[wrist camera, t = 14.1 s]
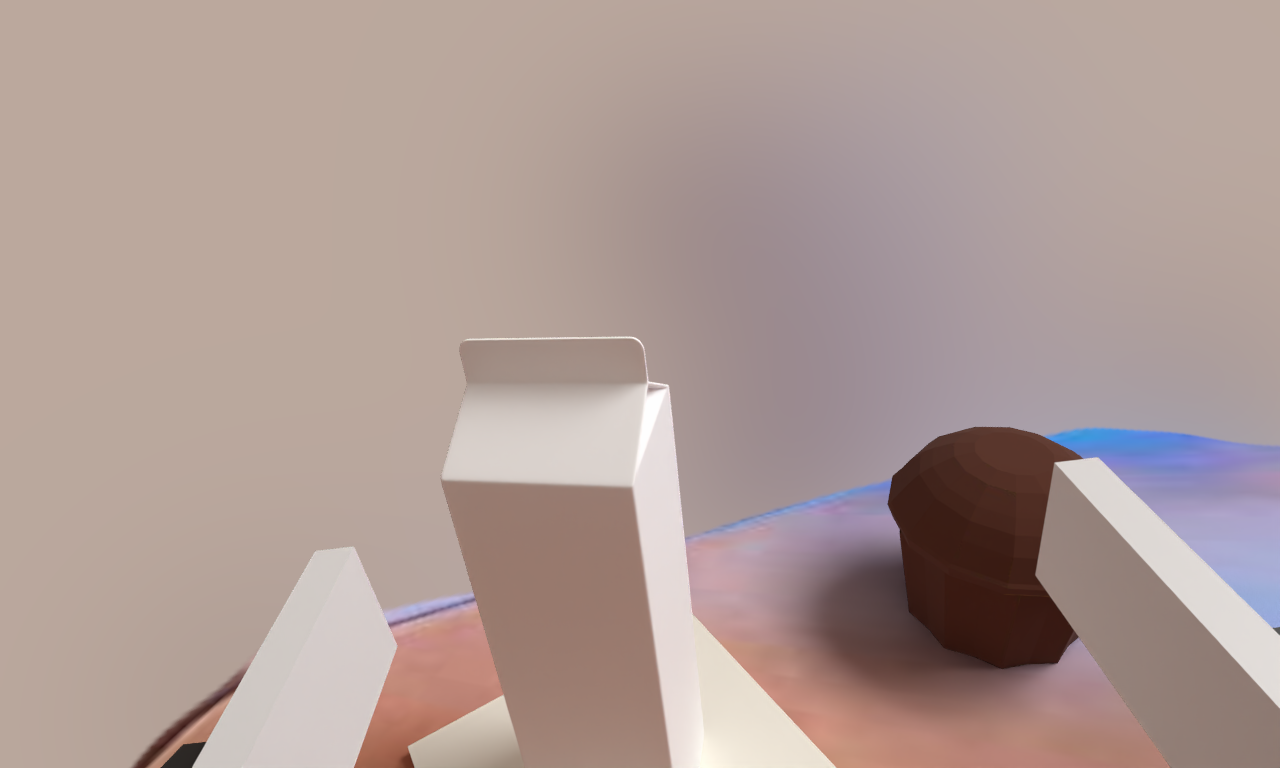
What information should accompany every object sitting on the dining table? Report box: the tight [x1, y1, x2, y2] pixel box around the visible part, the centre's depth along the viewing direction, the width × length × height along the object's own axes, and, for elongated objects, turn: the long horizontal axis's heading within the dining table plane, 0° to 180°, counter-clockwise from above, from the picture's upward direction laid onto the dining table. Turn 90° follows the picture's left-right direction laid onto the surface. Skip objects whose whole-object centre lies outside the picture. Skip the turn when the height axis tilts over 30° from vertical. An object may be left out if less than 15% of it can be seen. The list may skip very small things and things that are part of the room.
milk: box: [441, 337, 704, 768], centre depth 26 cm, size 6×6×22 cm
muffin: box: [888, 427, 1083, 669], centre depth 37 cm, size 12×11×10 cm
